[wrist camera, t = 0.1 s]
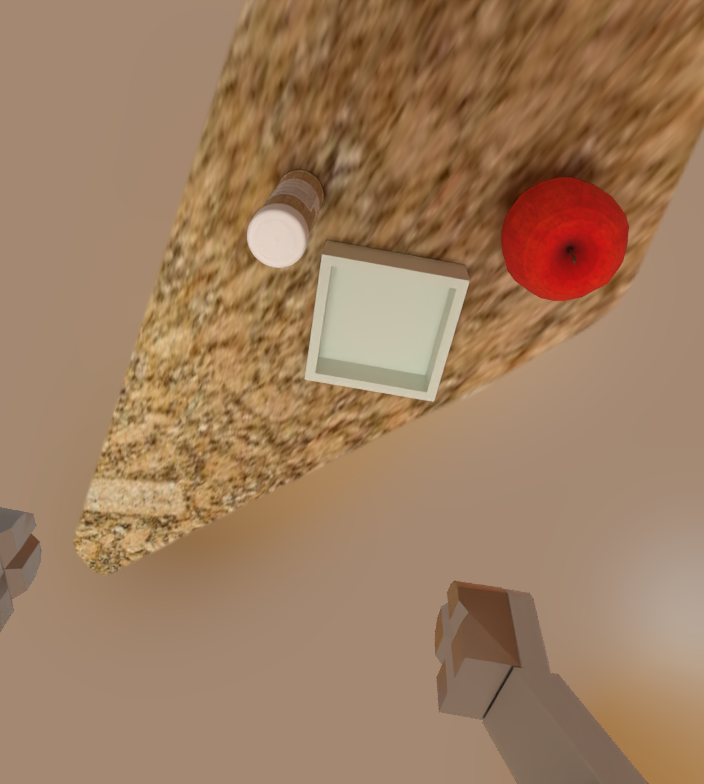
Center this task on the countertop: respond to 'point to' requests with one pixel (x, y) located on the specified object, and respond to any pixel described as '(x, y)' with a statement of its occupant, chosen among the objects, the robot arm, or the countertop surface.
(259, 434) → the countertop surface
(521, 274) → the apple
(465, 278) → the bin
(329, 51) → the countertop surface
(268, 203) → the sprinkles bottle
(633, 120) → the countertop surface
